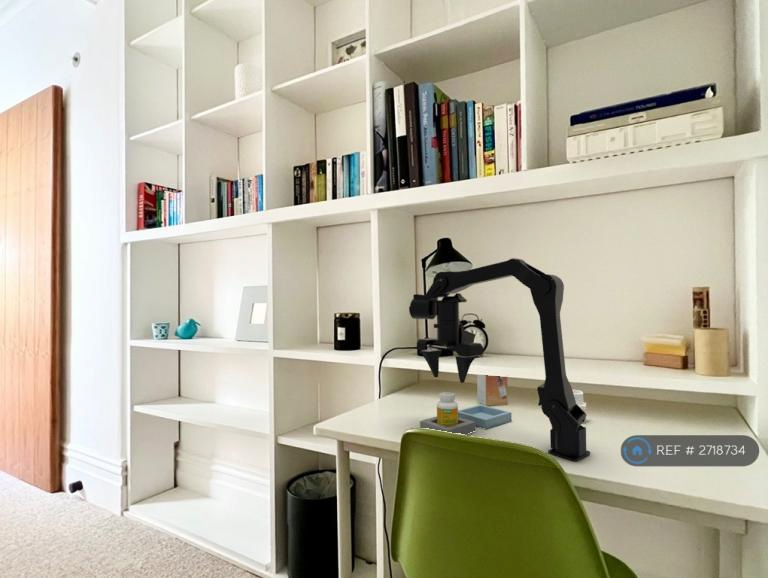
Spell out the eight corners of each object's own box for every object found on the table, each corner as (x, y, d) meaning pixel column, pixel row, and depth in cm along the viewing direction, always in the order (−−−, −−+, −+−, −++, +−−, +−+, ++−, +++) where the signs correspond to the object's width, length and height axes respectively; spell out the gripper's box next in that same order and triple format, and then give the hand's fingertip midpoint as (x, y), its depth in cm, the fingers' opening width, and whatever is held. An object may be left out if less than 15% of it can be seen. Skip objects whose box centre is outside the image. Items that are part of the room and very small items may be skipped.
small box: (485, 406, 134) (485, 373, 134) (477, 402, 139) (476, 370, 139) (508, 404, 136) (507, 371, 136) (499, 400, 141) (498, 368, 142)
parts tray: (511, 421, 118) (511, 412, 118) (485, 429, 112) (485, 419, 112) (480, 412, 127) (480, 404, 127) (454, 420, 120) (454, 411, 120)
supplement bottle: (441, 435, 108) (440, 396, 108) (434, 428, 113) (433, 392, 113) (461, 433, 109) (460, 395, 109) (453, 427, 114) (453, 390, 114)
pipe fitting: (559, 422, 117) (559, 393, 117) (562, 415, 123) (561, 387, 123) (585, 425, 114) (584, 395, 114) (586, 418, 120) (586, 389, 120)
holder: (475, 431, 110) (475, 422, 110) (448, 440, 104) (448, 430, 104) (447, 422, 118) (447, 413, 118) (420, 430, 112) (420, 420, 112)
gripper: (496, 319, 109) (497, 381, 109) (443, 317, 124) (444, 371, 124) (467, 322, 102) (468, 387, 102) (415, 319, 117) (415, 376, 117)
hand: (448, 379), depth 112 cm, fingers open, 9 cm apart
